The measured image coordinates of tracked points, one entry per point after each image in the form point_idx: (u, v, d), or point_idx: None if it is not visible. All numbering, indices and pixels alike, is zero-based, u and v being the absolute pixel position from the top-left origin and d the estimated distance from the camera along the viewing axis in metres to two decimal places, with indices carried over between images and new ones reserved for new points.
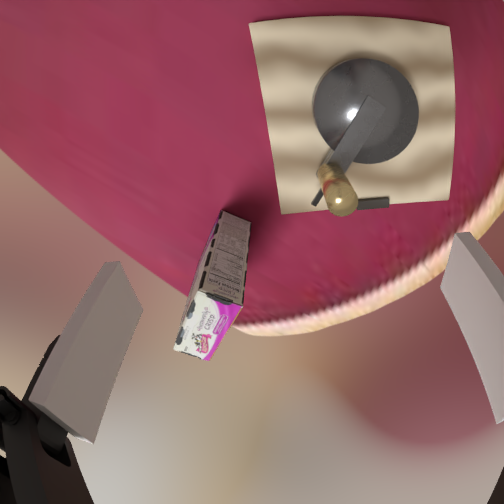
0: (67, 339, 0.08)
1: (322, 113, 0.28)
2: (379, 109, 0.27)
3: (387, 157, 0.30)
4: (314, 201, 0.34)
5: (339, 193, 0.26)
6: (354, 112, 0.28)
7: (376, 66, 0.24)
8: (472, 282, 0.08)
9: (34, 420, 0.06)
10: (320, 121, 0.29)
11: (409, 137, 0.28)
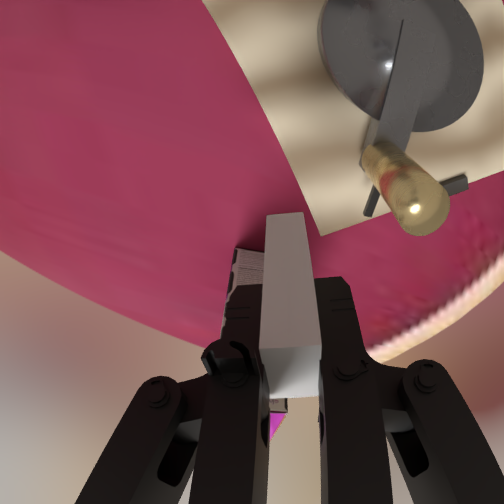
0: (277, 280, 0.09)
1: (342, 62, 0.15)
2: (427, 38, 0.12)
3: (458, 114, 0.15)
4: (367, 209, 0.20)
5: (417, 196, 0.12)
6: (392, 50, 0.14)
7: None
8: None
9: (261, 389, 0.07)
10: (343, 76, 0.15)
11: (478, 76, 0.13)
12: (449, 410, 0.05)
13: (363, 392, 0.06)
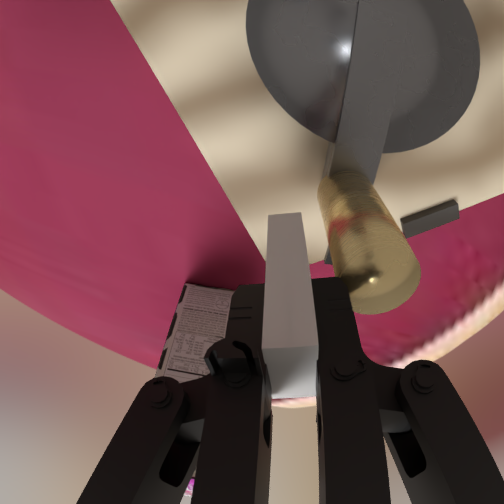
0: (279, 280, 0.09)
1: (276, 71, 0.12)
2: (396, 23, 0.09)
3: (447, 123, 0.12)
4: (328, 256, 0.16)
5: (366, 268, 0.09)
6: (346, 45, 0.10)
7: None
8: None
9: (264, 389, 0.07)
10: (280, 90, 0.12)
11: (473, 70, 0.10)
12: (447, 411, 0.05)
13: (361, 392, 0.06)
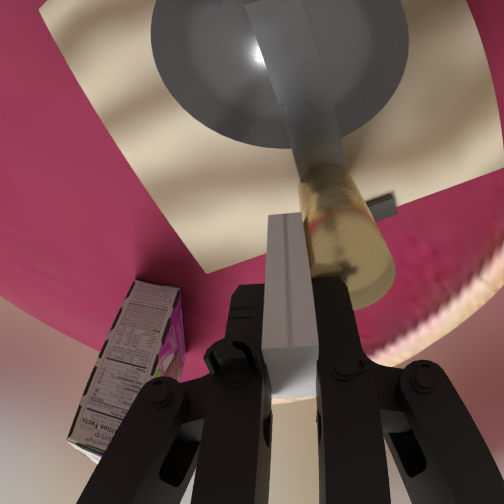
0: (279, 280, 0.09)
1: (208, 109, 0.13)
2: (289, 6, 0.09)
3: (395, 76, 0.11)
4: None
5: (328, 271, 0.09)
6: (256, 53, 0.11)
7: None
8: None
9: (264, 390, 0.07)
10: (219, 123, 0.13)
11: (395, 7, 0.09)
12: (447, 411, 0.05)
13: (361, 392, 0.06)
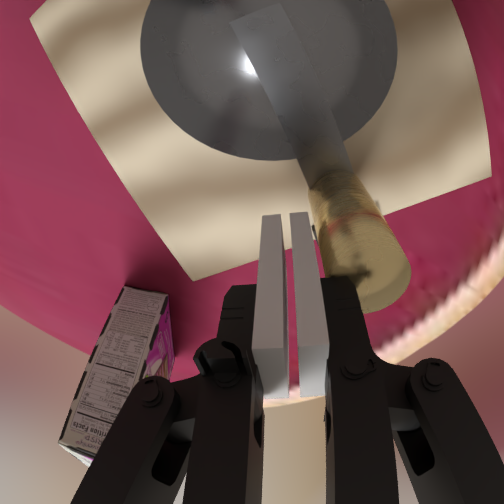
0: (271, 280, 0.09)
1: (210, 130, 0.13)
2: (274, 17, 0.10)
3: (388, 72, 0.11)
4: None
5: None
6: (248, 69, 0.12)
7: None
8: None
9: (254, 389, 0.07)
10: (223, 143, 0.14)
11: (377, 2, 0.09)
12: (455, 408, 0.05)
13: (370, 391, 0.06)
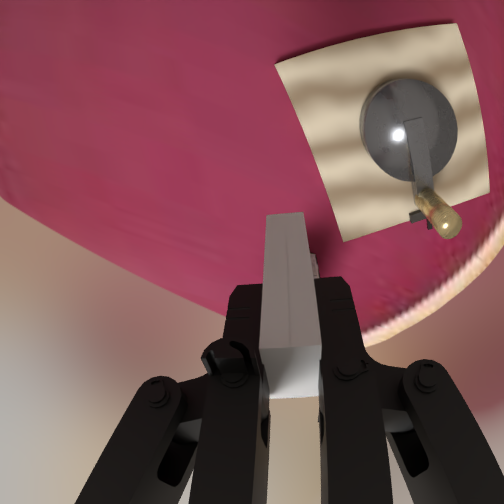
0: (277, 280, 0.09)
1: (386, 164, 0.30)
2: (419, 123, 0.27)
3: (451, 150, 0.28)
4: (428, 226, 0.33)
5: (444, 223, 0.26)
6: (405, 142, 0.28)
7: (389, 93, 0.25)
8: None
9: (261, 389, 0.07)
10: (389, 170, 0.30)
11: (453, 120, 0.26)
12: (449, 410, 0.05)
13: (363, 392, 0.06)
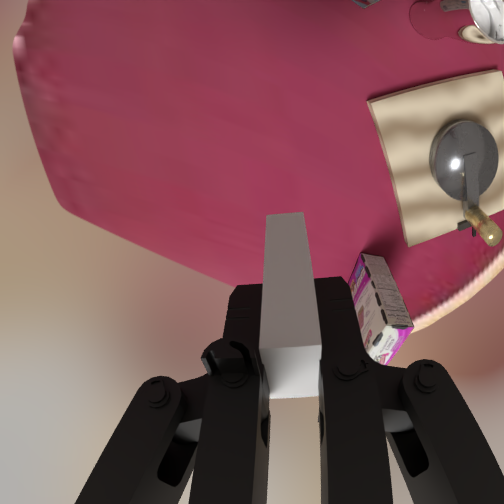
0: (277, 280, 0.09)
1: (448, 188, 0.35)
2: (473, 157, 0.32)
3: (493, 176, 0.33)
4: (473, 234, 0.38)
5: (491, 235, 0.31)
6: (463, 171, 0.33)
7: (455, 133, 0.30)
8: None
9: (261, 389, 0.07)
10: (450, 193, 0.35)
11: (496, 153, 0.31)
12: (449, 410, 0.05)
13: (363, 392, 0.06)
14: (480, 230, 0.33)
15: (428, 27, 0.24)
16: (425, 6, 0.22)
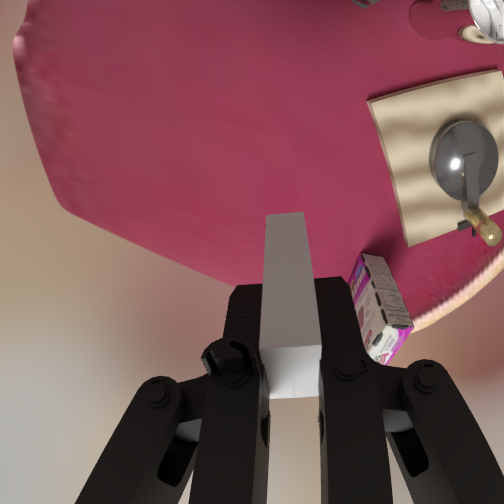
0: (277, 280, 0.09)
1: (448, 188, 0.35)
2: (473, 157, 0.32)
3: (493, 176, 0.33)
4: (473, 234, 0.38)
5: (491, 235, 0.31)
6: (463, 171, 0.33)
7: (455, 133, 0.30)
8: None
9: (261, 389, 0.07)
10: (450, 193, 0.35)
11: (496, 153, 0.31)
12: (449, 410, 0.05)
13: (363, 392, 0.06)
14: (480, 230, 0.33)
15: (428, 27, 0.24)
16: (425, 6, 0.22)
